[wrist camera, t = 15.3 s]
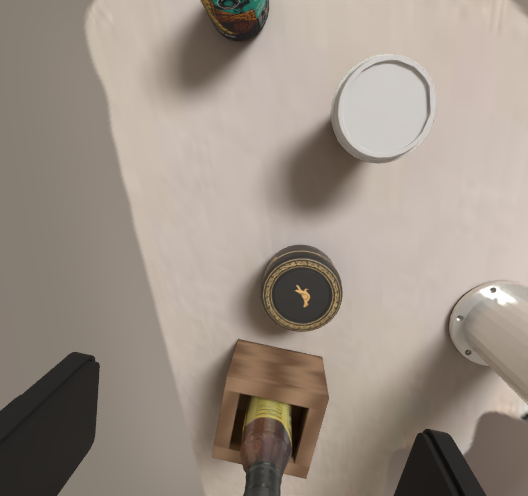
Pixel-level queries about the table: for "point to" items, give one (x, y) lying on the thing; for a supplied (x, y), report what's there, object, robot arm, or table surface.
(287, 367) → the walnut box
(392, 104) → the disposable coffee cup
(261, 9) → the beverage can
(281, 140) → the table surface
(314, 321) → the jar
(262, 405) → the sauce bottle
